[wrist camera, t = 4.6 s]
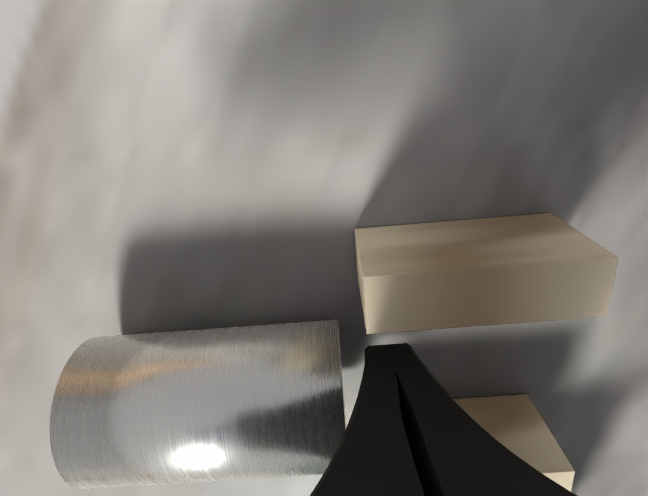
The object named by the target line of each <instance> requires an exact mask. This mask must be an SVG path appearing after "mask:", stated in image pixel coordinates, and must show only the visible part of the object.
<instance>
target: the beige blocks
mask: <svg viewBox="0 0 648 496" xmlns="http://www.w3.org/2000/svg"><path fill="white" fill-rule="evenodd" d="M354 230H355V246H356V262H357V276H358V283H359V289H360V295H361V302H362V308H363V314H364V320H365V327H366V333H367V334H376V333H390V332H403V331H417V330H431V329H445V328H458V327H472V326H486V325H499V324H513V323H527V322H540V321H554V320H568V319H581V318H595V317H607V312H608V307H609V302H610V297H611V292H612V288H613V283H614V278H615V273H616V268H617V263H618V258H619V257H617V256H616V255H614V254H613V253H611V252H610V251H608V250H607V249H605V248H604V247H602V246H601V245H599V244H598V243H596V242H595V241H593V240H592V239H590V238H588V237H587V236H585V235H584V234H582V233H581V232H579V231H578V230H576V229H575V228H573V227H572V226H570V225H569V224H567V223H566V222H564V221H563V220H561V219H560V218H558V217H557V216H555V215H553V214H552V213H542V214H529V215H517V216H505V217H492V218H480V219H468V220H456V221H443V222H431V223H419V224H406V225H394V226H382V227H370V228H357V229H354ZM454 401H455V402H456V403H457V404H458V405H459V406H460V407H461V408H462V409H463V410H464V411H465V412H466V413H467V414H468V415H469V416H470V417H471V418H473V419H474V420H475V421H476V422H477V423H478V424H479V425H480V426H481V427H482V428H483V429H485V430H486V431H487V432H488V433H489V434H490V435H491V436H493V437H494V438H495V439H496V440H497V441H499V442H500V443H501V444H502V445H504V446H505V447H506V448H507V449H509V450H510V451H511V452H513V453H514V454H515V455H517V456H518V457H520V458H521V459H522V460H524V461H525V462H526V463H528V464H529V465H531V466H532V467H533V468H535V469H536V470H538V471H539V472H541V473H542V474H544V475H545V476H547V477H548V478H550V479H551V480H553V481H554V482H556V483H558V484H559V485H561V486H562V487H564V488H566V489H567V490H569V491H570V492H571V489H572V484H573V479H574V474H575V471H574V469H573V467H572V466H571V464H570V462H569V461H568V459H567V458H566V456H565V454H564V453H563V451H562V449H561V448H560V446H559V445H558V443H557V441H556V440H555V438H554V436H553V435H552V433H551V432H550V430H549V428H548V427H547V425H546V423H545V422H544V420H543V419H542V417H541V415H540V414H539V412H538V410H537V409H536V407H535V406H534V404H533V402H532V401H531V399H530V398H529V396H528V394H521V395H507V396H492V397H477V398H462V399H454Z"/></svg>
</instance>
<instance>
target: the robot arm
mask: <svg viewBox="0 0 648 496" xmlns="http://www.w3.org/2000/svg"><path fill="white" fill-rule="evenodd" d="M310 496H577V495H575V494H574V493H572V492H570V491H569V490H567V489H566V488H564V487H562V486H561V485H559V484H558V483H556V482H554V481H553V480H551V479H550V478H548V477H547V476H545V475H544V474H542V473H541V472H539V471H538V470H536V469H535V468H533V467H532V466H531V465H529V464H528V463H526V462H525V461H524V460H522V459H521V458H520V457H518V456H517V455H515V454H514V453H513V452H511V451H510V450H509V449H507V448H506V447H505V446H504V445H502V444H501V443H500V442H499V441H497V440H496V439H495V438H494V437H493V436H491V435H490V434H489V433H488V432H487V431H486V430H485V429H483V428H482V427H481V426H480V425H479V424H478V423H477V422H476V421H475V420H474V419H473V418H471V417H470V416H469V415H468V414H467V413H466V412H465V411H464V410H463V409H462V408H461V407H460V406H459V405H458V404H457V403H456V402H455V401H454V399H453V398H452V397H451V396H450V395H449V394H448V393H447V392H446V391H445V390H444V388H443V387H442V386H441V385H440V384H439V383H438V382H437V380H436V379H435V378H434V377H433V376H432V374H431V373H430V372H429V371H428V369H427V368H426V367H425V366H424V364H423V363H422V362H421V360H420V359H419V358H418V356H417V355H416V353H415V352H414V351H413V349H412V348H411V346H410V345H408V344H407V343H403V344H389V345H375V346H368V347H367V348H366V349H365V365H364V371H363V377H362V381H361V385H360V389H359V393H358V397H357V400H356V403H355V406H354V409H353V412H352V415H351V417H350V420H349V423H348V425H347V428H346V430H345V433H344V435H343V437H342V439H341V441H340V444H339V446H338V448H337V450H336V452H335V454H334V456H333V458H332V460H331V461H330V463H329V465H328V467H327V469H326V471H325V472H324V474H323V476H322V478H321V479H320V481H319V482H318V484H317V486H316V487H315V489H314V490H313V492H312V493H311V495H310Z"/></svg>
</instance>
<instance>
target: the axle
mask: <svg viewBox="0 0 648 496" xmlns="http://www.w3.org/2000/svg"><path fill="white" fill-rule="evenodd" d="M345 430H346V417H345V403H344V389H343V376H342V363H341V350H340V338H339V327H338V320H325V321H311V322H297V323H284V324H270V325H256V326H242V327H228V328H214V329H200V330H186V331H172V332H158V333H144V334H130V335H116V336H102V337H94V338H91V339H89V340H87V341H85V342H84V343H83V344H82V345H80V346H79V347H78V348H77V349H76V350H75V352H74V353H73V354H72V356H71V357H70V358H69V360H68V362H67V363H66V365H65V367H64V369H63V371H62V373H61V375H60V378H59V381H58V384H57V387H56V390H55V394H54V398H53V403H52V408H51V416H50V443H51V450H52V455H53V459H54V463H55V465H56V468H57V470H58V472H59V474H60V475H61V477H62V478H63V479H64V481H65V482H66V483H68V484H69V485H70V486H72V487H75V488H79V489H87V488H104V487H120V486H137V485H154V484H170V483H187V482H203V481H220V480H236V479H253V478H269V477H286V476H302V475H319V474H324V472H325V471H326V469H327V467H328V465H329V463H330V461H331V460H332V458H333V456H334V454H335V452H336V450H337V448H338V446H339V444H340V441H341V439H342V437H343V435H344V433H345Z"/></svg>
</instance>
